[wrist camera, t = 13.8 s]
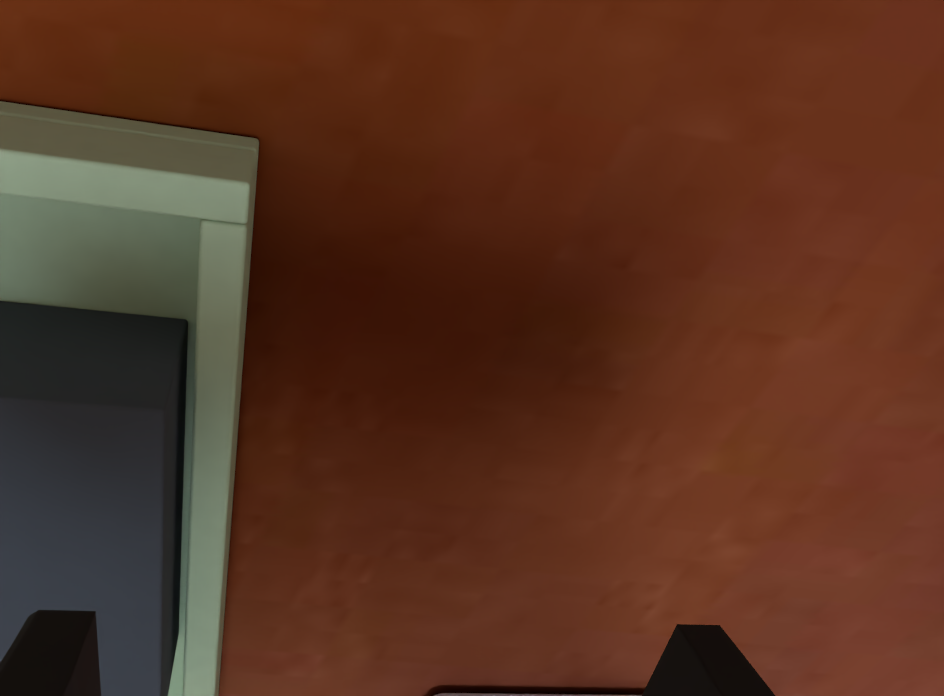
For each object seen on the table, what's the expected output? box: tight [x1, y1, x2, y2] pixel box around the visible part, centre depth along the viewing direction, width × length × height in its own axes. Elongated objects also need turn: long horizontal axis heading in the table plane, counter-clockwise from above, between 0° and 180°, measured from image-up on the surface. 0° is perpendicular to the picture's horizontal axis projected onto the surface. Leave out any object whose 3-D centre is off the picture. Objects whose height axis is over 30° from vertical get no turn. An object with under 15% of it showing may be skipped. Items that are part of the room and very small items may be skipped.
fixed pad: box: [0, 301, 188, 696], centre depth 18 cm, size 10×6×3 cm, turn 168°
